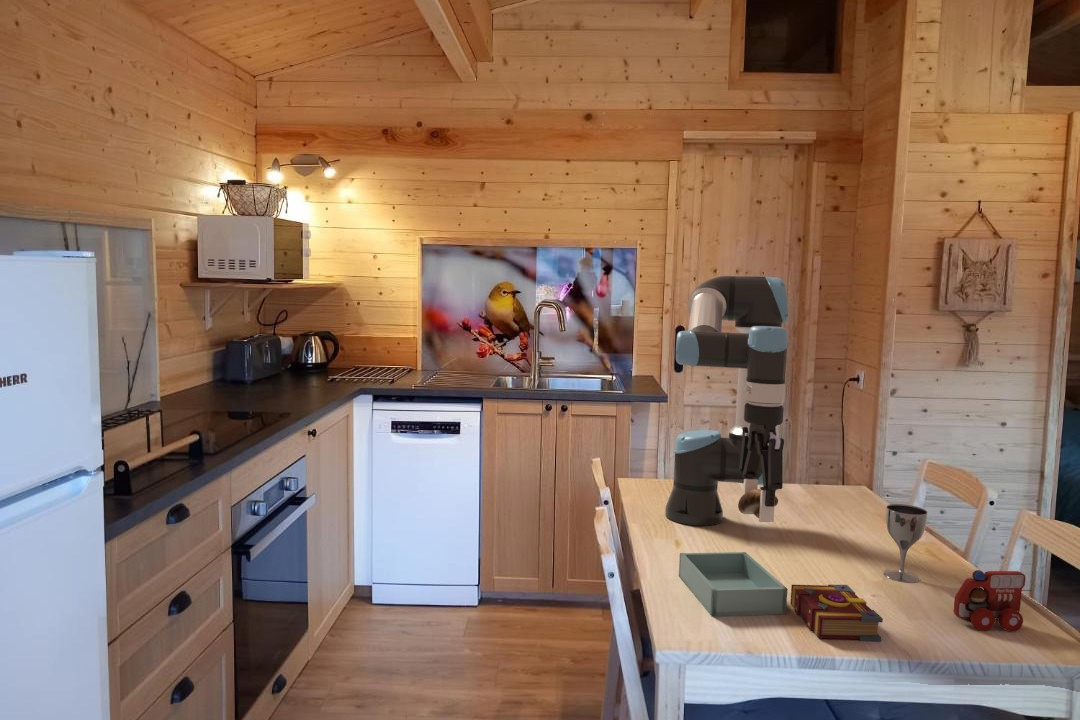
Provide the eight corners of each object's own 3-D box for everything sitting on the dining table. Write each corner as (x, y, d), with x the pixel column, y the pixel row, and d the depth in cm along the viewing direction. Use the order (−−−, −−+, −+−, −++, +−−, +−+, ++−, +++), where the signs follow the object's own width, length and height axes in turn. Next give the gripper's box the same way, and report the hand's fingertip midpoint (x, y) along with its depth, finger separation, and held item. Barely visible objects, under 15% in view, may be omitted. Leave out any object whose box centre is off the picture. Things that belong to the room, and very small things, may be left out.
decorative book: (817, 641, 131) (819, 614, 131) (786, 602, 147) (788, 578, 147) (881, 643, 132) (883, 615, 131) (843, 604, 148) (845, 580, 147)
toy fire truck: (943, 614, 144) (947, 562, 143) (1006, 616, 144) (1011, 563, 143) (964, 631, 137) (969, 576, 136) (1030, 632, 137) (1036, 578, 136)
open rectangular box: (678, 576, 159) (679, 553, 158) (744, 574, 161) (745, 552, 160) (711, 616, 140) (713, 590, 139) (785, 614, 142) (787, 588, 141)
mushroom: (783, 510, 145) (771, 480, 149) (743, 522, 147) (732, 492, 150) (784, 519, 152) (773, 490, 155) (746, 531, 154) (736, 502, 157)
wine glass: (918, 572, 165) (924, 506, 164) (924, 585, 158) (930, 516, 156) (879, 567, 168) (884, 502, 166) (883, 580, 160) (888, 511, 159)
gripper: (726, 396, 159) (720, 502, 161) (769, 411, 139) (762, 531, 141) (759, 396, 160) (753, 501, 162) (807, 411, 140) (799, 530, 142)
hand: (757, 515), depth 152 cm, fingers closed on mushroom, 7 cm apart
